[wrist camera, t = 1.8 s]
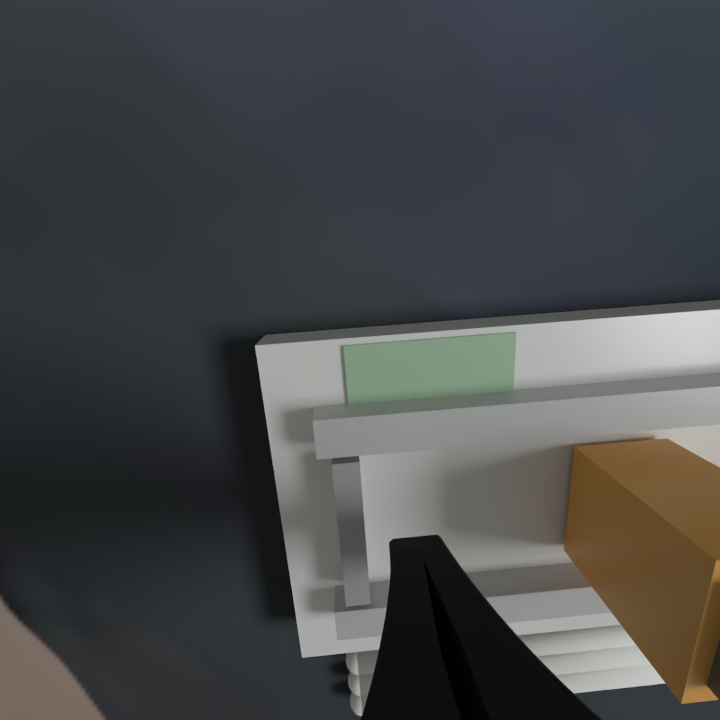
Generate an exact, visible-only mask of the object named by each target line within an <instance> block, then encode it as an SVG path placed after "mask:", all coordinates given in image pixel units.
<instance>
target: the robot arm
mask: <svg viewBox="0 0 720 720" xmlns="http://www.w3.org/2000/svg"><path fill="white" fill-rule="evenodd" d="M389 552H390V570H391V571H390V585H389V593H388V601H387V608H386V615H385V621H384V626H383V631H382V636H381V641H380V647H379V652H378V656H377V661H376V665H375V669H374V673H373V677H372V681H371V685H370V689H369V693H368V697H367V700H366V704H365V707H364V711H363V714H362V718H361V720H602V719H601V718H600V717H598V716H597V715H596V714H595V713H594V712H593V711H592V710H591V709H590V708H589V707H588V706H587V705H585V704H584V703H583V702H582V701H581V700H580V699H579V698H578V697H577V696H576V695H575V694H574V693H573V692H572V691H571V690H570V689H569V688H568V687H567V686H566V685H564V684H563V683H562V682H561V681H560V680H559V679H558V678H557V677H556V676H555V675H554V674H553V673H552V672H551V671H550V670H549V669H548V668H547V667H546V666H545V665H544V664H543V662H542V661H541V660H540V659H539V658H538V657H537V656H536V655H535V654H534V653H533V652H532V651H531V650H530V649H529V648H528V647H527V646H526V644H525V643H524V642H523V641H522V640H521V639H520V638H519V637H518V636H517V635H516V633H515V632H514V631H513V630H512V629H511V628H510V627H509V626H508V624H507V623H506V622H505V621H504V620H503V619H502V618H501V616H500V615H499V614H498V613H497V612H496V610H495V609H494V608H493V607H492V606H491V604H490V603H489V602H488V601H487V599H486V598H485V597H484V596H483V595H482V593H481V592H480V591H479V590H478V588H477V587H476V586H475V585H474V583H473V582H472V581H471V579H470V578H469V577H468V575H467V574H466V573H465V571H464V570H463V569H462V567H461V566H460V565H459V563H458V562H457V560H456V559H455V558H454V556H453V555H452V553H451V552H450V550H449V549H448V547H447V546H446V544H445V543H444V541H443V540H442V538H441V537H440V536H439V535H427V536H417V537H406V538H396V539H392V540H391V541H390V542H389Z"/></svg>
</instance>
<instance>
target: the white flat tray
mask: <svg viewBox="0 0 720 720" xmlns="http://www.w3.org/2000/svg"><path fill="white" fill-rule="evenodd" d="M255 350H256V357H257V363H258V370H259V376H260V383H261V389H262V396H263V403H264V409H265V416H266V422H267V429H268V436H269V442H270V449H271V455H272V462H273V469H274V475H275V482H276V488H277V495H278V502H279V508H280V515H281V521H282V528H283V535H284V541H285V548H286V554H287V561H288V568H289V574H290V581H291V587H292V594H293V601H294V607H295V614H296V620H297V627H298V634H299V640H300V647H301V653H302V658H304V657H313V656H323V655H333V654H342V653H352V652H362V651H371V650H379V647H380V641H381V636H382V631H383V626H384V621H385V615H386V608H387V601H388V593H389V585H390V571H391V570H390V552H389V542H390V541H391V540H392V539H396V538H406V537H417V536H427V535H439V536H440V537H441V538H442V540H443V541H444V543H445V544H446V546H447V547H448V549H449V550H450V552H451V553H452V555H453V556H454V558H455V559H456V560H457V562H458V563H459V565H460V566H461V567H462V569H463V570H464V571H465V573H466V574H467V575H468V577H469V578H470V579H471V581H472V582H473V583H474V585H475V586H476V587H477V588H478V590H479V591H480V592H481V593H482V595H483V596H484V597H485V598H486V599H487V601H488V602H489V603H490V604H491V606H492V607H493V608H494V609H495V610H496V612H497V613H498V614H499V615H500V616H501V618H502V619H503V620H504V621H505V622H506V623H507V624H508V626H509V627H510V628H511V629H512V630H513V631H514V632H515V633H516V635H527V634H536V633H546V632H556V631H565V630H575V629H585V628H595V627H604V626H614V625H621V624H620V623H619V622H618V620H617V619H616V618H615V616H614V615H613V614H612V613H611V611H610V610H609V609H608V607H607V606H606V605H605V603H604V602H603V601H602V599H601V598H600V597H599V596H598V594H597V593H596V592H595V590H594V589H593V588H592V586H591V585H590V584H589V582H588V581H587V580H586V579H585V577H584V576H583V575H582V573H581V572H580V571H579V569H578V568H577V567H576V565H575V564H574V563H573V562H572V560H571V559H570V558H569V556H568V555H567V554H566V552H565V551H564V543H565V533H566V523H567V514H568V504H569V494H570V484H571V475H572V465H573V455H574V446H585V445H597V444H608V443H619V442H631V441H642V440H653V439H665V438H667V439H669V440H671V441H673V442H674V443H676V444H678V445H680V446H682V447H683V448H685V449H687V450H689V451H691V452H692V453H694V454H696V455H698V456H700V457H702V458H703V459H705V460H707V461H709V462H711V463H712V464H714V465H716V466H718V467H720V300H711V301H699V302H686V303H673V304H660V305H647V306H634V307H621V308H608V309H595V310H582V311H569V312H556V313H543V314H530V315H517V316H504V317H491V318H478V319H465V320H452V321H439V322H426V323H413V324H400V325H387V326H374V327H361V328H348V329H335V330H322V331H309V332H296V333H283V334H270V335H265V336H264V337H263V338H262V339H261V340H260V341H259V342H258V343H257V344H256V345H255Z"/></svg>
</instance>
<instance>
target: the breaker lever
mask: <svg viewBox="0 0 720 720" xmlns="http://www.w3.org/2000/svg"><path fill="white" fill-rule="evenodd" d="M564 551H565V552H566V554H567V555H568V556H569V558H570V559H571V560H572V562H573V563H574V564H575V565H576V567H577V568H578V569H579V571H580V572H581V573H582V575H583V576H584V577H585V579H586V580H587V581H588V582H589V584H590V585H591V586H592V588H593V589H594V590H595V592H596V593H597V594H598V596H599V597H600V598H601V599H602V601H603V602H604V603H605V605H606V606H607V607H608V609H609V610H610V611H611V613H612V614H613V615H614V616H615V618H616V619H617V620H618V622H619V623H620V624H621V626H622V627H623V628H624V630H625V631H626V632H627V634H628V635H629V636H630V637H631V639H632V640H633V641H634V643H635V644H636V645H637V647H638V648H639V649H640V651H641V652H642V653H643V654H644V656H645V657H646V658H647V660H648V661H649V662H650V664H651V665H652V666H653V668H654V669H655V670H656V671H657V673H658V674H659V675H660V677H661V678H662V679H663V681H664V682H665V683H666V685H667V686H668V687H669V688H670V690H671V691H672V692H673V694H674V695H675V696H676V698H677V699H678V700H679V702H680V703H681V704H684V703H693V702H702V701H711V700H720V467H718V466H716V465H714V464H712V463H711V462H709V461H707V460H705V459H703V458H702V457H700V456H698V455H696V454H694V453H692V452H691V451H689V450H687V449H685V448H683V447H682V446H680V445H678V444H676V443H674V442H673V441H671V440H669V439H667V438H665V439H653V440H642V441H631V442H619V443H608V444H597V445H585V446H574V455H573V465H572V475H571V484H570V494H569V504H568V514H567V523H566V533H565V543H564Z"/></svg>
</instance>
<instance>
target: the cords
mask: <svg viewBox="0 0 720 720" xmlns="http://www.w3.org/2000/svg"><path fill="white" fill-rule="evenodd" d="M517 636H518V637H519V638H520V639H521V640H522V641H523V642H524V643H525V644H526V646H527V647H528V648H529V649H530V650H531V651H532V652H533V653H534V654H535V655H536V656H537V657H538V658H539V659H540V660H541V661H542V662H543V664H544V665H545V666H546V667H547V668H548V669H549V670H550V671H551V672H552V673H553V674H554V675H555V676H556V677H557V678H558V679H559V680H560V681H561V682H562V683H563V684H564V685H566V686H567V687H568V688H569V689H570V690H571V691H572V692H573V693H581V692H590V691H599V690H608V689H618V688H627V687H636V686H645V685H654V684H664V683H665V682H664V681H663V679H662V678H661V677H660V675H659V674H658V673H657V671H656V670H655V669H654V668H653V666H652V665H651V664H650V662H649V661H648V660H647V658H646V657H645V656H644V654H643V653H642V652H641V651H640V649H639V648H638V647H637V645H636V644H635V643H634V641H633V640H632V639H631V637H630V636H629V635H628V634H627V632H626V631H625V630H624V628H623V627H622V626H621V625H614V626H604V627H595V628H585V629H575V630H565V631H556V632H546V633H536V634H527V635H517ZM378 652H379V650H371V651H362V652H352V653H347V654H346V665H347V668H348V669H349V671H350V673H349V676H348V685H349V688H350V690H351V691H352V693H351V697H350V704H351V708H352V710H353V711H354V713H355V714H357V715H359V716H362V714H363V711H364V707H365V704H366V700H367V697H368V693H369V689H370V685H371V681H372V677H373V673H374V669H375V665H376V661H377V656H378Z"/></svg>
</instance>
